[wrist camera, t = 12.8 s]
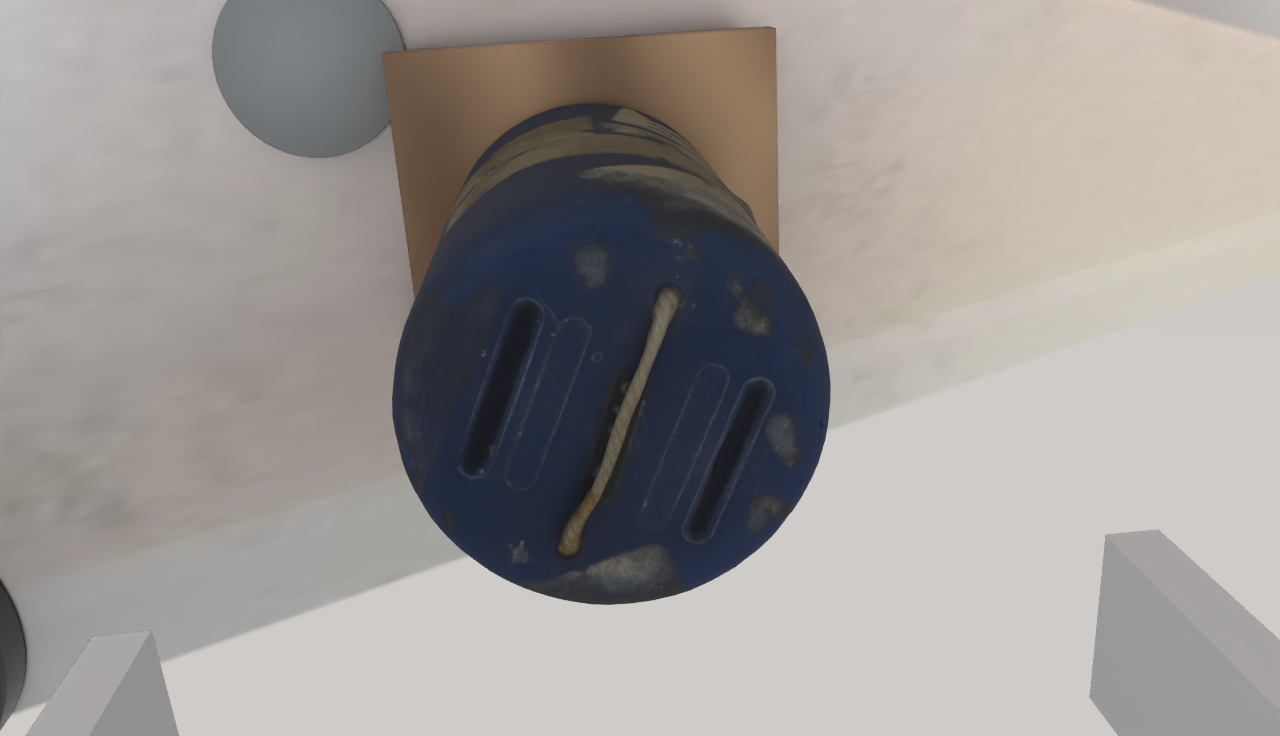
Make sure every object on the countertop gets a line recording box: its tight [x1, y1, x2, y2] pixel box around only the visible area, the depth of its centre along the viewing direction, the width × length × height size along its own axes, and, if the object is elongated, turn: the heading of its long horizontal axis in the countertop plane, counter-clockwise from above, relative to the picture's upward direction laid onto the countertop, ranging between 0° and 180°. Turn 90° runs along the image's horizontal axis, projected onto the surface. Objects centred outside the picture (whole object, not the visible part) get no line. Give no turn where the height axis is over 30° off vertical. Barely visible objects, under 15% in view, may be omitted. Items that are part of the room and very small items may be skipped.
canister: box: [392, 103, 830, 605], centre depth 30 cm, size 10×10×18 cm
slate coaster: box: [212, 0, 405, 158], centre depth 41 cm, size 7×7×1 cm
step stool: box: [382, 26, 779, 298], centre depth 41 cm, size 13×13×6 cm
